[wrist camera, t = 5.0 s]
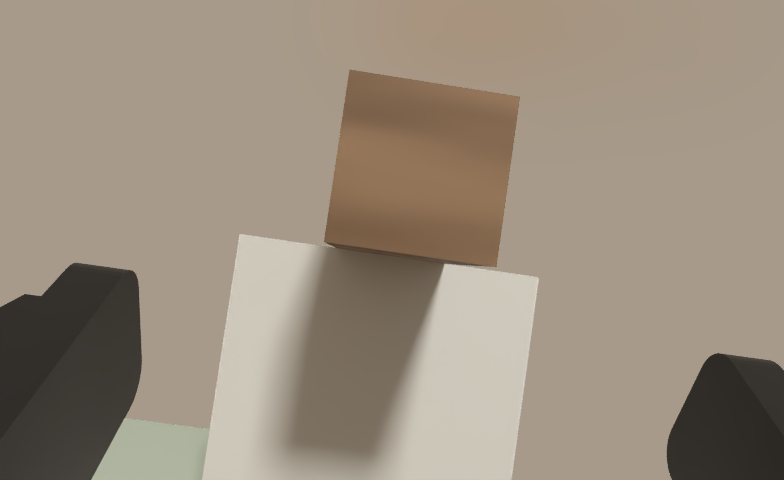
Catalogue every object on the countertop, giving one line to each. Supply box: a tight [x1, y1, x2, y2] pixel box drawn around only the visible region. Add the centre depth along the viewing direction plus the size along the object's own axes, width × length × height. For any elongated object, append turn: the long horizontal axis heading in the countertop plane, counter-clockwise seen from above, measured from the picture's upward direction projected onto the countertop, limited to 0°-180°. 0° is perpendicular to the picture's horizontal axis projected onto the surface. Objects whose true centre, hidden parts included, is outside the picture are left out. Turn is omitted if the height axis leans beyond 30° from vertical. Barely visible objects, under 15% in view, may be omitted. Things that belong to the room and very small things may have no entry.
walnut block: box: [324, 70, 520, 267], centre depth 25 cm, size 24×4×4 cm, turn 3°
